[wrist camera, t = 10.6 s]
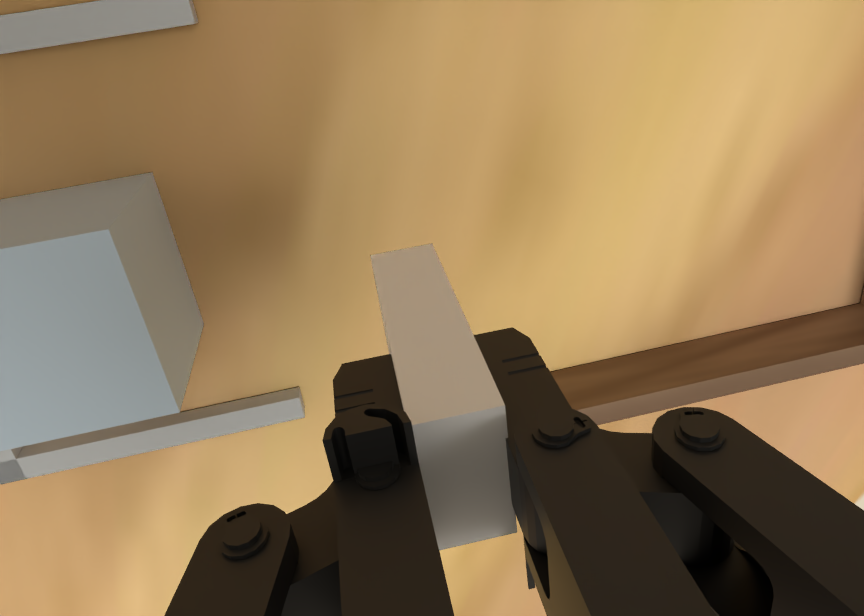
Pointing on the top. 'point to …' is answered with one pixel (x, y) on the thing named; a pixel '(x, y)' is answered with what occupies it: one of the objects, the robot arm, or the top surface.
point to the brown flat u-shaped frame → (715, 365)
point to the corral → (113, 16)
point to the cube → (91, 311)
